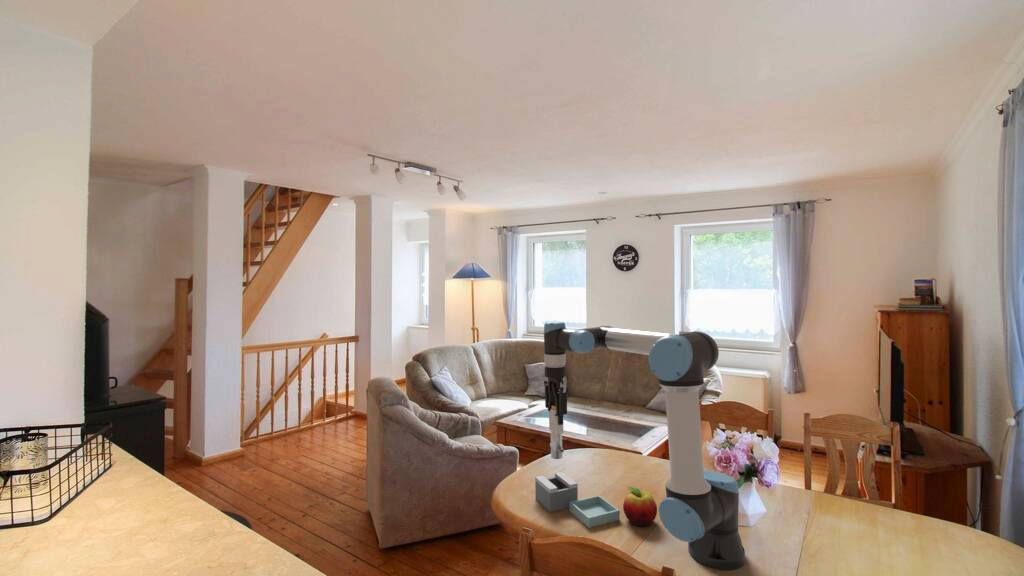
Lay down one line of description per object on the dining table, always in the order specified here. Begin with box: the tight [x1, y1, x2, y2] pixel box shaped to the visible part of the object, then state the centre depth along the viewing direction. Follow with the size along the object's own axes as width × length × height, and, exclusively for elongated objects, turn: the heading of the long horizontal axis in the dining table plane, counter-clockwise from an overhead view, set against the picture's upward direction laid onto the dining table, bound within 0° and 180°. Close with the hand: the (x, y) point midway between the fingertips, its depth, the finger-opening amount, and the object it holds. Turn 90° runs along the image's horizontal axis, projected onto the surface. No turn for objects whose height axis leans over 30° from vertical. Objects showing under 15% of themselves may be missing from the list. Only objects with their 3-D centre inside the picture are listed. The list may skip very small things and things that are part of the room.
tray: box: [568, 494, 621, 529], centre depth 162 cm, size 12×12×3 cm
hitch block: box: [534, 471, 579, 513], centre depth 171 cm, size 11×11×8 cm
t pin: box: [549, 405, 565, 460], centre depth 170 cm, size 7×4×18 cm, turn 24°
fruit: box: [622, 486, 658, 527], centre depth 157 cm, size 11×11×10 cm
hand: (556, 431), depth 170 cm, fingers closed on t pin, 4 cm apart
